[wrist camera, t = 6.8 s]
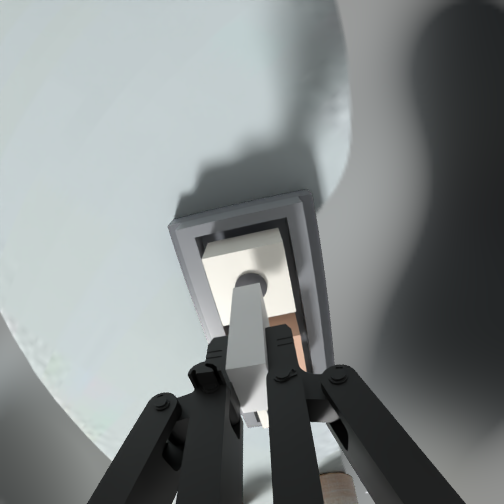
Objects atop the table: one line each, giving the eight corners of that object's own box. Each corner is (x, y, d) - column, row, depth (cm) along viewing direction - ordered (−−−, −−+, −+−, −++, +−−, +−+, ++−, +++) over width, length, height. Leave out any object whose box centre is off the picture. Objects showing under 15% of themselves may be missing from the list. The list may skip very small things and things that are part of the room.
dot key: (207, 242, 21) (201, 260, 18) (278, 227, 21) (283, 242, 18) (225, 303, 23) (222, 327, 20) (290, 290, 23) (296, 313, 20)
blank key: (232, 324, 24) (230, 348, 21) (294, 312, 23) (300, 334, 20) (246, 369, 25) (246, 393, 23) (303, 358, 25) (308, 382, 22)
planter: (351, 464, 39) (362, 509, 30) (352, 485, 43) (361, 523, 34) (288, 479, 40) (293, 524, 31) (298, 497, 44) (302, 536, 35)
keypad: (173, 219, 24) (160, 234, 20) (307, 189, 23) (318, 198, 20) (238, 402, 32) (237, 429, 28) (333, 384, 31) (340, 410, 27)
